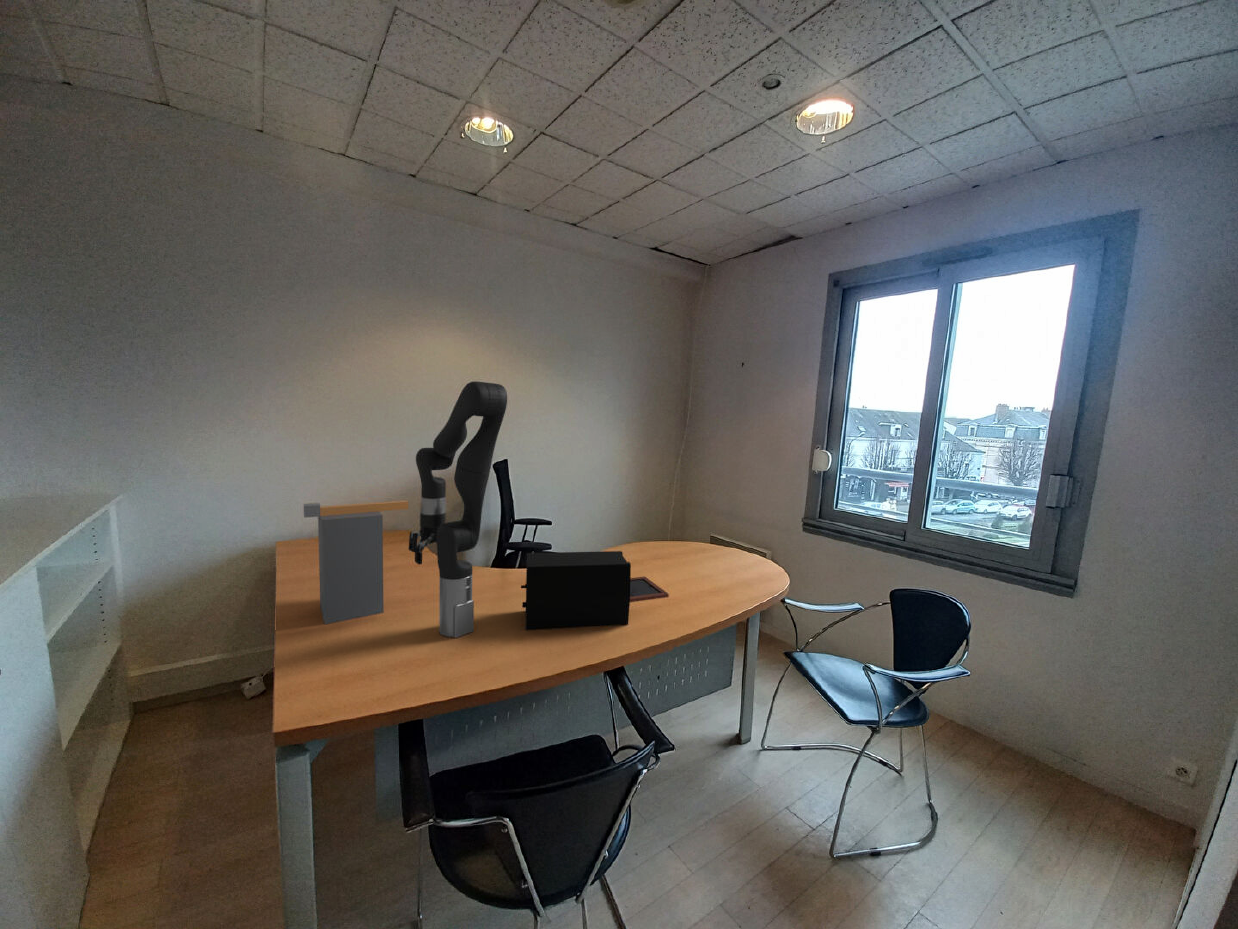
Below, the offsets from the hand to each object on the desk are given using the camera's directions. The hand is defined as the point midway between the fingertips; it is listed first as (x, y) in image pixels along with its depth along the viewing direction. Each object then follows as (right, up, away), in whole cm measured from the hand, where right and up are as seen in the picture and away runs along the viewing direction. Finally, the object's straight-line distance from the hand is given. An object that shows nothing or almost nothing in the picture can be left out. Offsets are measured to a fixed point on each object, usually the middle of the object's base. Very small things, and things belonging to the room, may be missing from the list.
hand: (431, 560), depth 143 cm
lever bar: (-25, +15, +2) cm, 29 cm away
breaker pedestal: (-28, -17, +4) cm, 33 cm away
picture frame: (+63, -19, +29) cm, 72 cm away
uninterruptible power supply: (+45, -20, +4) cm, 49 cm away
